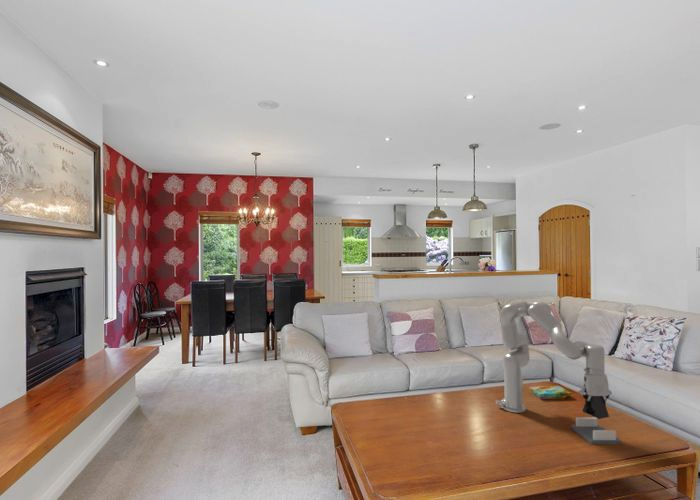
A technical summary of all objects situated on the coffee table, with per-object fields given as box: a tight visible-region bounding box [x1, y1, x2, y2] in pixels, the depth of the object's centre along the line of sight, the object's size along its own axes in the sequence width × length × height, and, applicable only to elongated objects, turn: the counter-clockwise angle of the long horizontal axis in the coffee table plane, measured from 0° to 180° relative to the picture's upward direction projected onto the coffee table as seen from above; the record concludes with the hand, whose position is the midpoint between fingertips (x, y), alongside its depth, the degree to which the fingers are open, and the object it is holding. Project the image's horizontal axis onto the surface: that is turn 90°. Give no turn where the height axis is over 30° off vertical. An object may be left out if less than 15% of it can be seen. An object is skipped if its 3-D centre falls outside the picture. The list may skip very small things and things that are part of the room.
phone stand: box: [582, 396, 610, 420], centre depth 181 cm, size 9×6×12 cm, turn 19°
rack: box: [570, 416, 622, 445], centre depth 181 cm, size 14×16×6 cm
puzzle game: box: [528, 385, 573, 400], centre depth 230 cm, size 12×5×20 cm
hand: (595, 407), depth 181 cm, fingers closed on phone stand, 6 cm apart
